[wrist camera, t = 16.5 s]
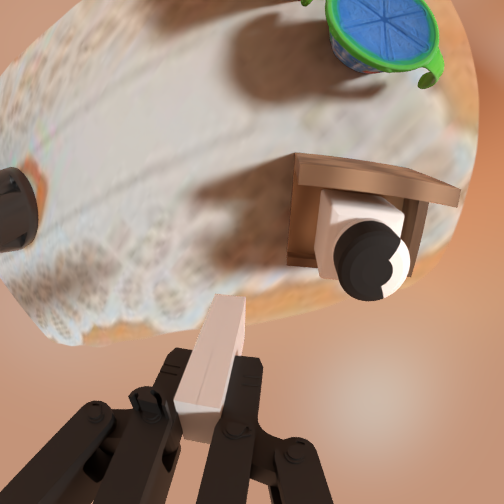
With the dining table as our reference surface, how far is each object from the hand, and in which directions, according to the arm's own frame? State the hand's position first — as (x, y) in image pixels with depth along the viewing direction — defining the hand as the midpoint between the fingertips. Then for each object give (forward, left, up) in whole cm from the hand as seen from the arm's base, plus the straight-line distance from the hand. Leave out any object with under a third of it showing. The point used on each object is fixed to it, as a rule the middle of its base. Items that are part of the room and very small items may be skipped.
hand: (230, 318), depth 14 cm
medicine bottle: (+10, 0, -19) cm, 22 cm away
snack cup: (+10, +21, -22) cm, 32 cm away
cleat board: (+10, +1, -22) cm, 24 cm away
